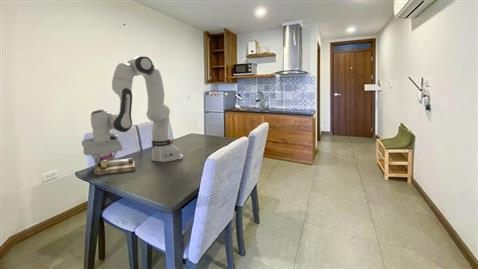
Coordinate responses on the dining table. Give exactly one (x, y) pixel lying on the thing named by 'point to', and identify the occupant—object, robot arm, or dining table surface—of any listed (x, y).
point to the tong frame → (123, 159)
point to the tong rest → (115, 168)
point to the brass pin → (103, 164)
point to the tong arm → (115, 163)
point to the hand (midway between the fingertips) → (105, 159)
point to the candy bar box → (103, 157)
